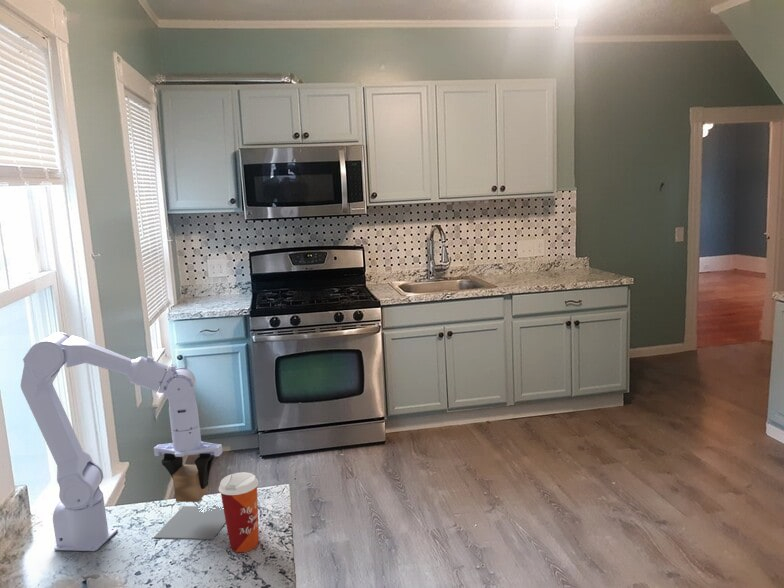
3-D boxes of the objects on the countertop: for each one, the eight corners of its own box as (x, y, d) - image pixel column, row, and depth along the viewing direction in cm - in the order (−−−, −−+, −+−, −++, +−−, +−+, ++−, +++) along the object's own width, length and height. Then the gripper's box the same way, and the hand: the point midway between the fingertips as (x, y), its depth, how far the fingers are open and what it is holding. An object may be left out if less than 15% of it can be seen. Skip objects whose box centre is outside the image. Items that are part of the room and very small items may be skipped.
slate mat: (153, 538, 128) (153, 537, 128) (183, 506, 141) (183, 506, 141) (212, 539, 126) (212, 538, 126) (237, 507, 139) (237, 506, 139)
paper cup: (254, 556, 119) (247, 489, 117) (218, 554, 121) (210, 487, 118) (270, 535, 127) (264, 471, 124) (235, 532, 128) (229, 469, 126)
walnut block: (176, 501, 130) (172, 475, 129) (187, 489, 135) (183, 464, 134) (198, 502, 129) (194, 475, 128) (208, 490, 134) (205, 464, 133)
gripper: (143, 433, 127) (151, 495, 129) (209, 433, 125) (216, 495, 127) (160, 421, 134) (167, 479, 136) (223, 420, 132) (230, 480, 134)
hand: (192, 486), depth 132 cm, fingers closed on walnut block, 5 cm apart
